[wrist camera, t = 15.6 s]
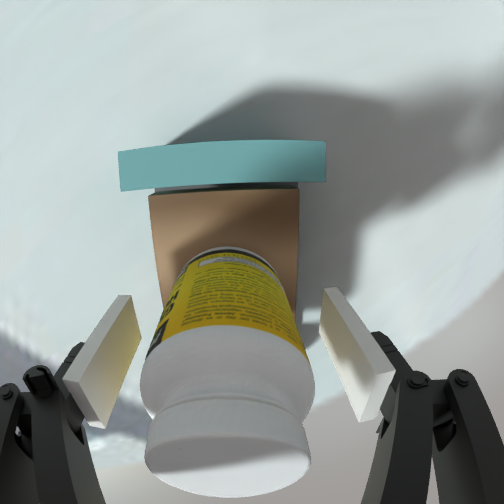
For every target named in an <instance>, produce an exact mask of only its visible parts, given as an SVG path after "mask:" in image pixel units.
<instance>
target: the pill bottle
mask: <svg viewBox="0 0 504 504" xmlns="http://www.w3.org/2000/svg"><path fill="white" fill-rule="evenodd" d="M140 391H141V397H142V400H143V403H144V406H145V408H146V410H147V412H148V413H149V415H150V416H151V418H152V419H153V421H152V422H151V424H150V427H149V432H148V439H147V444H146V449H145V457H144V458H145V463H146V465H147V467H148V468H149V470H150V471H151V472H152V473H153V474H154V475H155V476H156V477H158V478H159V479H160V480H162V481H164V482H166V483H167V484H169V485H171V486H174V487H176V488H178V489H181V490H184V491H187V492H191V493H195V494H200V495H205V496H213V497H230V498H231V497H233V498H234V497H247V496H255V495H260V494H265V493H269V492H273V491H276V490H279V489H281V488H284V487H286V486H288V485H290V484H292V483H294V482H296V481H297V480H299V479H300V478H301V477H302V476H303V475H304V474H305V473H306V472H307V471H308V469H309V467H310V464H311V456H310V450H309V446H308V441H307V438H306V434H305V430H304V427H303V425H302V422H303V420H304V419H305V418H306V416H307V415H308V413H309V411H310V409H311V406H312V403H313V400H314V395H315V382H314V376H313V372H312V369H311V365H310V362H309V359H308V357H307V354H306V351H305V348H304V345H303V343H302V340H301V337H300V334H299V331H298V329H297V326H296V323H295V320H294V317H293V314H292V311H291V308H290V305H289V303H288V300H287V297H286V294H285V292H284V289H283V286H282V284H281V281H280V279H279V277H278V275H277V273H276V271H275V270H274V269H273V267H272V266H271V265H270V264H269V263H268V262H267V261H266V260H265V259H264V258H262V257H261V256H259V255H257V254H256V253H254V252H251V251H249V250H246V249H243V248H238V247H230V246H225V247H216V248H212V249H209V250H206V251H204V252H201V253H199V254H198V255H196V256H195V257H193V258H192V259H191V260H190V261H189V262H188V263H187V264H186V265H185V266H184V267H183V269H182V270H181V272H180V273H179V275H178V277H177V279H176V281H175V283H174V285H173V288H172V290H171V293H170V296H169V298H168V301H167V303H166V306H165V308H164V310H163V312H162V315H161V318H160V321H159V323H158V326H157V329H156V331H155V334H154V337H153V340H152V342H151V345H150V348H149V350H148V353H147V355H146V359H145V363H144V365H143V368H142V373H141V379H140Z"/></svg>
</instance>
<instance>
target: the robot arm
mask: <svg viewBox="0 0 504 504" xmlns="http://www.w3.org/2000/svg"><path fill="white" fill-rule="evenodd" d="M319 333H320V335H321V337H322V340H323V342H324V344H325V346H326V349H327V351H328V353H329V355H330V357H331V360H332V362H333V364H334V366H335V369H336V371H337V373H338V375H339V378H340V380H341V382H342V385H343V387H344V389H345V391H346V394H347V396H348V398H349V401H350V403H351V405H352V408H353V410H354V412H355V415H356V417H357V419H358V422H363V421H367V420H371V419H375V418H376V417H377V415H378V413H379V410H381V412H382V414H383V416H384V417H383V419H382V421H381V423H380V426H379V427H378V430H377V431H376V433H379V436H378V441H377V446H376V451H375V455H374V459H373V463H372V467H371V471H370V475H369V478H368V482H367V485H366V489H365V492H364V495H363V499H362V502H361V504H426V500H427V494H428V486H429V479H430V468H431V458H433V463H434V469H435V475H436V481H437V488H438V495H439V503H440V504H504V445H503V442H502V439H501V437H500V434H499V431H498V429H497V427H496V424H495V421H494V419H493V416H492V414H491V412H490V409H489V407H488V405H487V403H486V400H485V399H484V396H483V394H482V392H481V390H480V388H479V386H478V383H477V381H476V380H475V378H474V376H473V375H472V374H471V373H469V372H468V371H466V370H463V369H456V370H453V371H452V372H451V373H450V374H449V376H448V378H447V379H444V380H431V379H430V378H429V377H428V376H427V375H426V374H424V373H423V372H419V371H413V370H412V369H411V367H410V366H409V365H408V363H407V362H406V360H405V359H404V358H403V356H402V355H401V354H400V352H399V351H398V349H397V348H396V347H395V345H393V343H392V341H391V340H390V339H389V338H388V337H387V336H386V335H384V334H383V333H381V332H380V331H377V332H371V333H370V332H369V330H368V329H367V327H366V326H365V325H364V323H363V322H362V320H361V319H360V318H359V316H358V315H357V313H356V312H355V311H354V309H353V308H352V306H351V305H350V304H349V302H348V301H347V300H346V298H345V297H344V295H343V294H342V293H341V291H340V290H339V289H338V287H328V288H323V297H322V307H321V317H320V325H319ZM141 338H142V337H141V334H140V330H139V326H138V322H137V318H136V314H135V310H134V306H133V301H132V297H131V295H118V297H117V298H116V299H115V301H114V302H113V303H112V305H111V306H110V308H109V309H108V310H107V312H106V313H105V315H104V316H103V318H102V319H101V320H100V322H99V323H98V325H97V326H96V328H95V329H94V331H93V332H92V333H91V335H90V336H89V338H88V339H87V341H86V342H85V343H83V342H80V343H79V344H77V345H76V346H75V347H73V348H72V350H71V351H70V353H69V354H68V357H66V358H65V360H64V363H62V364H61V366H60V368H59V369H58V371H57V372H56V374H55V375H54V377H53V375H52V373H51V371H50V369H49V368H48V367H47V366H43V365H37V366H34V367H32V368H30V369H29V370H27V371H26V373H25V374H24V376H23V380H24V382H25V384H26V385H27V387H28V389H29V390H30V392H21V391H20V390H19V388H18V387H17V386H16V385H15V384H13V383H8V384H5V385H3V386H1V387H0V504H106V503H105V500H104V497H103V494H102V491H101V489H100V486H99V482H98V479H97V476H96V472H95V469H94V465H93V462H92V458H91V454H90V450H89V446H88V441H87V437H86V432H85V429H84V427H83V425H82V421H83V419H84V417H85V419H86V421H87V422H88V424H89V425H90V426H94V427H99V428H104V429H105V428H106V425H107V423H108V420H109V417H110V415H111V412H112V409H113V407H114V404H115V401H116V399H117V396H118V394H119V391H120V388H121V386H122V383H123V381H124V378H125V376H126V374H127V371H128V369H129V366H130V364H131V362H132V359H133V357H134V354H135V352H136V350H137V347H138V345H139V343H140V341H141ZM16 427H17V429H18V430H19V433H18V435H16V433H15V431H16Z"/></svg>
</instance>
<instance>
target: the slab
mask: <svg viewBox="0 0 504 504" xmlns="http://www.w3.org/2000/svg"><path fill="white" fill-rule="evenodd" d="M148 200H149V210H150V220H151V229H152V237H153V245H154V253H155V260H156V267H157V273H158V280H159V286H160V291H161V297H162V303H163V308H165V306H166V303H167V301H168V298H169V296H170V293H171V290H172V288H173V285H174V283H175V281H176V279H177V277H178V275H179V273H180V272H181V270H182V269H183V267H184V266H185V265H186V264H187V263H188V262H189V261H190V260H191V259H192V258H193V257H195V256H196V255H198V254H199V253H201V252H204V251H206V250H209V249H212V248H216V247H225V246H230V247H238V248H243V249H246V250H249V251H251V252H254V253H256V254H257V255H259V256H261V257H262V258H264V259H265V260H266V261H267V262H268V263H269V264H270V265H271V266H272V267H273V269H274V270H275V271H276V273H277V275H278V277H279V279H280V281H281V284H282V286H283V289H284V292H285V294H286V297H287V300H288V303H289V305H290V308H291V311H292V314H293V317H294V320H295V310H296V291H297V268H298V238H299V189H298V188H296V187H294V186H292V185H272V186H236V187H214V188H196V189H181V190H168V191H158V192H155V193H153V194H151V195H149V196H148Z"/></svg>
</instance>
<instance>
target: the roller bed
mask: <svg viewBox="0 0 504 504" xmlns="http://www.w3.org/2000/svg"><path fill="white" fill-rule="evenodd" d="M118 161H119V176H120V189H121V192H122V191H131V190H141V189H151V188H155V192H158V191H168V190H181V189H196V188H214V187H236V186H272V185H292V186H294V187H296V188H298V182H326V141H307V140H232V141H212V142H197V143H184V144H174V145H164V146H155V147H147V148H140V149H133V150H126V151H119V152H118Z"/></svg>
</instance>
